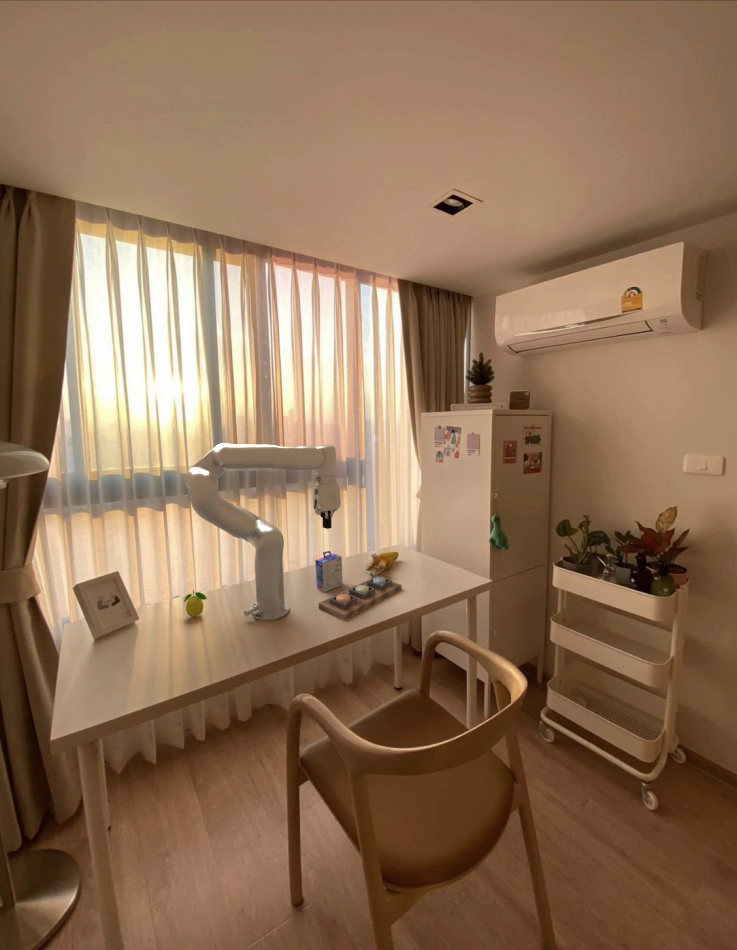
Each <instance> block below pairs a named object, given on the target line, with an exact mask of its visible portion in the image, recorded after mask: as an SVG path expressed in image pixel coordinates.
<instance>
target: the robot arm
mask: <svg viewBox="0 0 737 950" xmlns="http://www.w3.org/2000/svg"><path fill="white" fill-rule="evenodd" d="M312 470H315V473H314V474H315V477H314V479H313V481H314V482H315V483H314V486H313V495H312V497H313V499H312V503H313V504H312V505H313V510H314V514H315V515H317V516H319V517H320V518H321V519H322V528H323V529H326V530H329V529H332V525H333V524H332V518H333V517H334V514H335V512H337V511H338V510H339V509H340V508H341V505H342V503H341V502H342V501H341V499H342V498H341V491H340V485H339V482H338V481H337V451H336V447H335V446H333V445H331V444H330V445H329V444H328V445H327V444H326V445H325V444H324V445H317V446H315V445H314V446H312V445H311V446H310V445H299V446H296V447H290V446H282V445H281V446H278V445H275V444H274V445H273V444H266V443H264V444H242V443H240V444H237V443H236V444H233V443H228V442H223V443H222V442H221V443H219V444H217V445H215V446H214V447H213V448H212V449H210V450H209V451H208V452H207V453H206V454H204V455H203V457H202V458H200V459H199V460H198V461H197V462H196V463H194V464H193V465H192V466H191V467H190V468H189V469H188V470H187V471H186V473H185V475H184V485H185V486H186V488H187V490H189V496H190V497H189V499H190V503H191V506H192V509H193V511H194V512H195V513H196V515H198V516H199V517H200V518H201V519H203V520H205V521H206V522H208V523H210V524H211V525H213V526H215V527H217V529H218V528H219V529H220V530H222V531H224V532H226V533H228V534H229V535H230V536H232V537H234V538H237V539H242V540H244V541H246V542H247V543H250V544H251V545H252V546H253V547H254V548H255V555H254V574H255V576H254V577H255V578H254V579H255V594H256V595H255V597H256V601H255V602H253V606H252V607H250V608H248V609H247V608H246V609H244V610H243V614H244V616H245V617H247V616H250V615H251V616H252V617H254V619H257V620H259V621H265V622H270V621H276V620H278V619H279V620H280V619H281V618H284V617H285V616H286V615H288V614H289V612H290V605H289V604H288V603H286V602H285V585H284V583H285V582H284V580H285V579H284V546H285V538H284V534H283V533H282V531H281V530H280V529H279V528H278V527H276V526H275V525H274V524H272V523H271V522H269V521H267V520H265V519H263V518H262V517H260V516H258V515H256V514H254V513H253V512H251V511H250V510H248V509H246V508H245V507H243V506H240V505H238V504H237V505H236V504H232V503H231V502H230V501H228V500H226V499H225V498H223V497H222V496H221V495H220V493H219V480H218V479H219V478H220V477H221V476H222V475H223V474H224V473H225V472H226V471H229V472H237V471H238V472H239V471H242V472H243V471H312Z"/></svg>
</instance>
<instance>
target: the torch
mask: <svg viewBox="0 0 737 950" xmlns="http://www.w3.org/2000/svg"><path fill="white" fill-rule="evenodd" d="M370 557H371V558H372V559H371V560H370V561H369V563H366V564H365V565H364V570H365V571H367V572H369V576H370V575H372V578H374V577H376V576H379V574H381V573H382V572H383V571H388V569H389V568H390V567H391V566H392V565H393V564H394V563H395V562H396V560H398V558H399V552H397V551H389V552H388V551H387V552H381V553H380V554H376V553H372V554H370Z"/></svg>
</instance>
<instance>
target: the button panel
mask: <svg viewBox="0 0 737 950" xmlns="http://www.w3.org/2000/svg"><path fill="white" fill-rule="evenodd" d="M376 577H382V578H385V577H383V576H381V575H377V576H376ZM376 577H374V578H376ZM374 578H373V577H371V578H369V579H366V581H365V580H364V581H363V582H361V583H359V584H357V585H355V586H353V587H351V588H348V589H346V590H344V591H341V592H339V593H337V594H335V595H333V596H331V597H329V598H327V599H324V600H322V601H320V602H318V609H319V610H322V611H324V612H326V613H328V614H330V615H331V616H334V617H336V618H338V619H340V620H342V621H346V620H348V619H350V618H351V617H353V616H355V615H357V614H359V613H361V612H363V611H365V610H366V609H369V608H370V607H372V606H374V605H375V604H377V603H380V602H381V601H383V600H385V599H387V598H389V597H390V596H392V595H394V594H396V593H398V592H400V591H402V590H403V589H402V588H403V587H402V586H403V585H402V584H401V583H397V582H395V581H392V579H390V578H387V577H386V578H385V579H386V582H385V583H383V584H381V585H379V584H376V583H373V579H374ZM359 585H365V586H368V587H369V591H367V592H365V593H363V594H362V593H359V592H357V591H356V589H355V588H356V587H357V586H359ZM340 594H347V595H349V596H350V600H349V601H347V602H345V603H341V602H339V601H336V596H338V595H340Z"/></svg>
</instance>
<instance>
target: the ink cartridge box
mask: <svg viewBox="0 0 737 950" xmlns="http://www.w3.org/2000/svg"><path fill="white" fill-rule="evenodd" d="M326 554H327V555H326ZM322 555H323V557H321V558H318V559H315V560H314V561H315V577H316V578H315V579H316V589H317V590H319V591H320V592H322V593H326V592H328V591H330V590H333V589H335V588H338V587H341V586H343V583H344V582H343V559H342V558H343V557H342V556H341V555H338V554H336V553H333V554H332V553H331V550H327V551H322Z"/></svg>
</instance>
